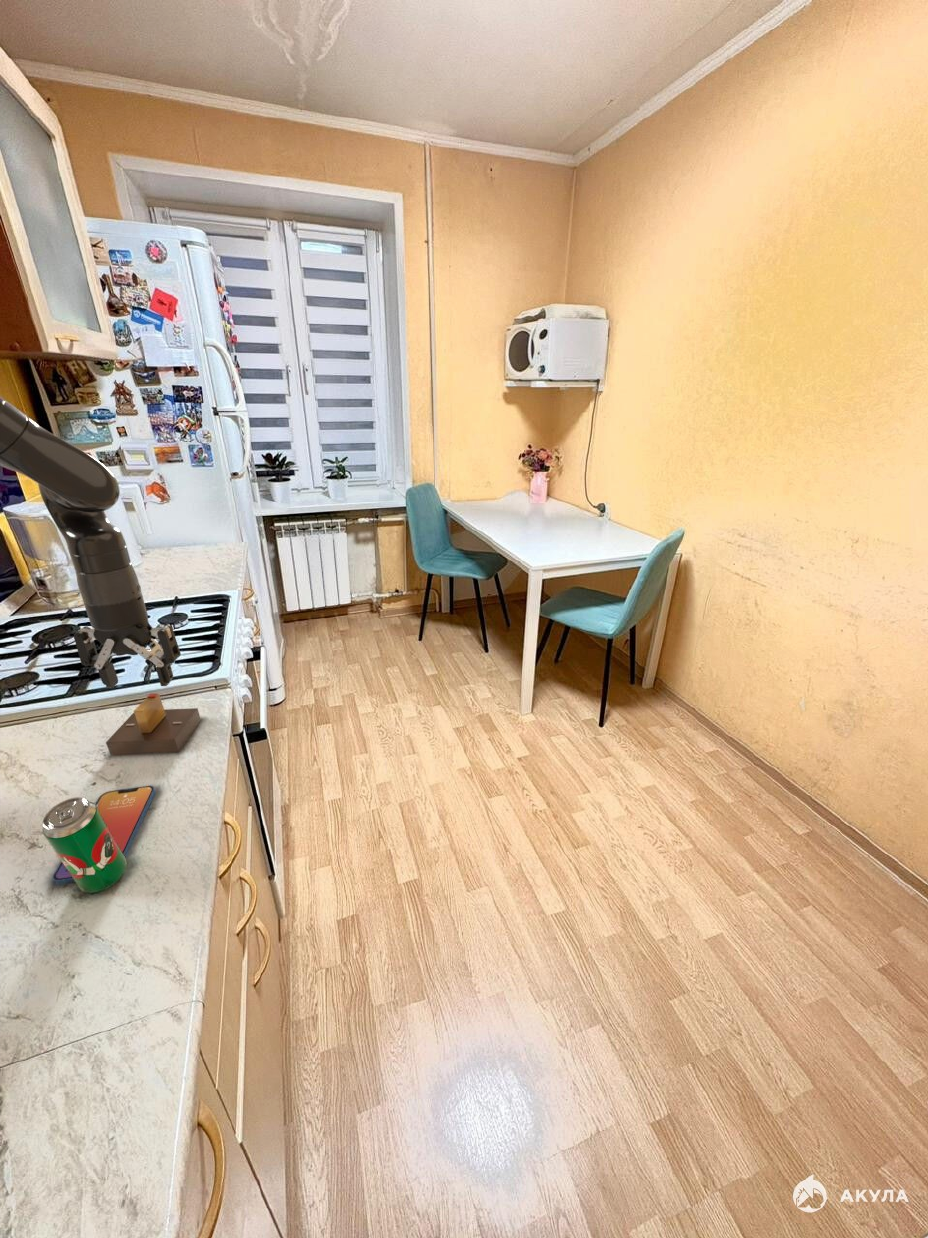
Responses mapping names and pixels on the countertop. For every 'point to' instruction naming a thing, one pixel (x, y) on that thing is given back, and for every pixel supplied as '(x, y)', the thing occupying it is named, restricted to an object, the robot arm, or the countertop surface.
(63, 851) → the soda can
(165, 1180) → the countertop surface
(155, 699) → the lock knob
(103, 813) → the smartphone
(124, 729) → the plate
